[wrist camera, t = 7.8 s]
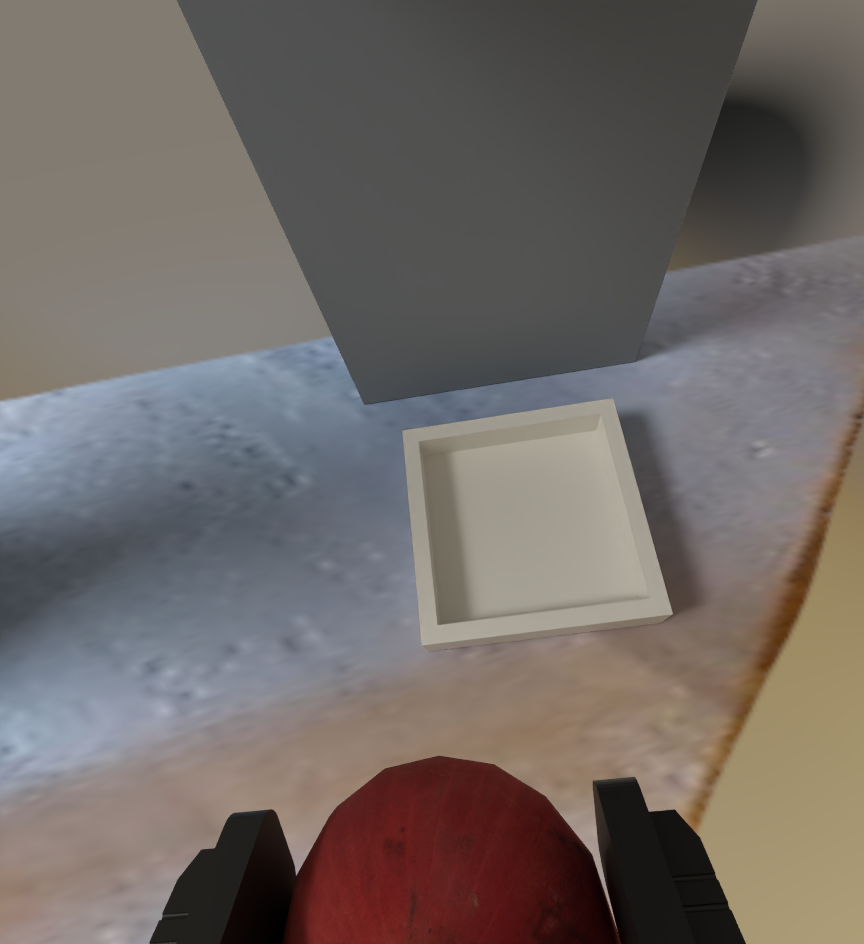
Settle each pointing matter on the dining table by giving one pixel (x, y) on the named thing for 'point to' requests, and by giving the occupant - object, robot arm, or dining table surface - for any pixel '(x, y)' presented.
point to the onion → (448, 865)
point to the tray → (529, 528)
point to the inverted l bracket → (476, 168)
